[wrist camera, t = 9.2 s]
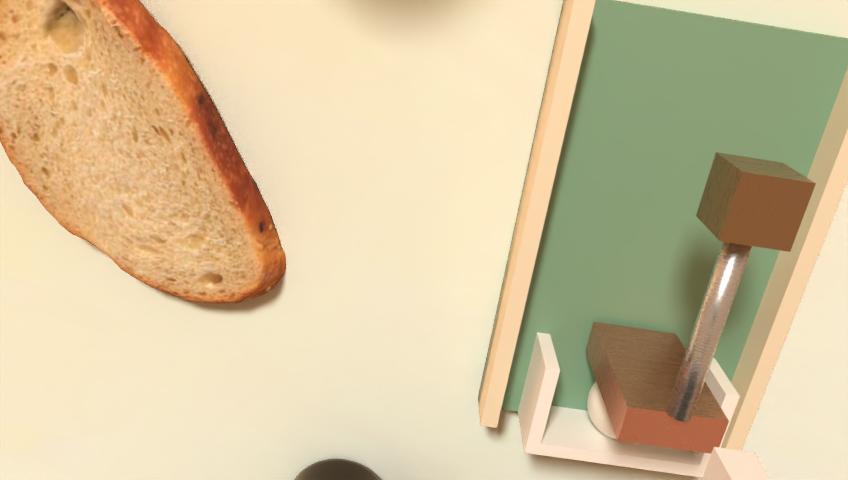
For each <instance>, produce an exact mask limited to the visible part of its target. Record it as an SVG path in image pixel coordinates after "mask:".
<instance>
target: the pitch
mask: <svg viewBox="0 0 848 480" xmlns="http://www.w3.org/2000/svg"><path fill="white" fill-rule="evenodd" d="M716 152H719V153H725V154H732V155H738V156H744V157H751V158H757V159H764V160H770V161H776V162H783V163H784V164H786V165H788V166H789V167H791V168H792V169H794V170H795V171H797V172H799V173H800V174H802V175H803V176H805V177H807V178H808V179H810V180H811V181H813V182H814V183H816V185H815V187H814V190H813V193H812V195H811V198H810V201H809V203H808V206H807V209H806V211H805V214H804V217H803V219H802V222H801V225H800V227H799V230H798V232H797V235H796V238H795V240H794V243H793V246H792V248H791V251H790V252H788V251H781V250H775V249H768V248H761V247H755V246H752V249H751V252H750V254H749V257H748V260H747V263H746V266H745V269H744V271H743V274H742V277H741V280H740V283H739V286H738V288H737V291H736V294H735V297H734V300H733V302H732V305H731V308H730V311H729V314H728V317H727V319H726V322H725V325H724V328H723V331H722V334H721V336H720V339H719V342H718V345H717V348H716V351H715V353H714V356H713V359H712V362H711V365H710V367H709V370H708V373H707V376H706V379H705V382H706V384H707V386H708V387H709V389H710V390H711V392H712V394H713V395H714V397H715V399H716V400H717V402H718V404H719V405H720V407H721V409H722V410H723V412H724V414H725V415H726V417H727V419H728V420H729V423H728V426H727V428H726V431H725V434H724V436H723V439H722V441H721V444H720V447H719V448H725V449H732V450H740V451H742V448H743V446H744V443H745V441H746V438H747V436H748V433H749V431H750V428H751V426H752V423H753V420H754V418H755V415H756V413H757V410H758V408H759V405H760V403H761V400H762V398H763V395H764V393H765V390H766V387H767V385H768V382H769V380H770V377H771V375H772V372H773V370H774V367H775V365H776V362H777V360H778V357H779V354H780V352H781V349H782V347H783V344H784V342H785V339H786V337H787V334H788V332H789V329H790V326H791V324H792V321H793V319H794V316H795V314H796V311H797V309H798V306H799V304H800V301H801V299H802V296H803V293H804V291H805V288H806V286H807V283H808V281H809V278H810V276H811V273H812V271H813V268H814V266H815V263H816V260H817V258H818V255H819V253H820V250H821V248H822V245H823V243H824V240H825V238H826V235H827V233H828V230H829V227H830V225H831V222H832V220H833V217H834V215H835V212H836V210H837V207H838V205H839V202H840V199H841V197H842V194H843V192H844V189H845V187H846V184H847V182H848V38H841V37H835V36H829V35H823V34H817V33H811V32H805V31H799V30H793V29H786V28H780V27H774V26H768V25H762V24H756V23H750V22H744V21H738V20H731V19H725V18H719V17H713V16H707V15H701V14H695V13H689V12H683V11H676V10H670V9H664V8H658V7H652V6H646V5H640V4H634V3H627V2H621V1H615V0H563V5H562V10H561V14H560V19H559V23H558V28H557V33H556V37H555V42H554V47H553V51H552V56H551V61H550V65H549V70H548V75H547V79H546V84H545V89H544V93H543V98H542V103H541V107H540V112H539V116H538V121H537V126H536V130H535V135H534V140H533V144H532V149H531V154H530V158H529V163H528V168H527V172H526V177H525V182H524V186H523V191H522V196H521V200H520V205H519V209H518V214H517V219H516V223H515V228H514V233H513V237H512V242H511V247H510V251H509V256H508V261H507V265H506V270H505V275H504V279H503V284H502V289H501V293H500V298H499V302H498V307H497V312H496V316H495V321H494V326H493V330H492V335H491V340H490V344H489V349H488V354H487V358H486V363H485V368H484V372H483V377H482V382H481V386H480V391H479V395H478V401H479V413H480V426H487V427H494V428H497V425H498V420H499V416H500V412H501V409H503V410H510V411H517V412H518V416H519V422H520V428H521V434H522V440H523V446H524V452H525V453H530V454H537V455H544V456H551V457H558V458H566V459H573V460H580V461H587V462H594V463H601V464H608V465H616V466H623V467H630V468H637V469H644V470H651V471H659V472H666V473H673V474H680V475H687V476H694V477H701V478H702V477H703V474H704V472H705V469H706V466H707V464H708V461H709V458H710V456H711V454H710V453H703V452H696V451H688V450H681V449H674V448H667V447H660V446H653V445H646V444H639V443H632V442H625V441H618V440H617V439H614V438H611V437H608V436H606V435H605V434H603V433H602V432H601V431H599V430H598V429H597V428H596V426H595V425H594V424H593V422H592V421H591V419H590V416H589V413H588V409H587V399H588V394H589V391H590V389H591V387H592V386H593V384H594V383H595V382H596V379H595V376H594V373H593V370H592V368H591V365H590V362H589V359H588V356H587V353H586V351H585V350H586V347H587V343H588V340H589V336H590V332H591V329H592V325H593V322H600V323H607V324H613V325H620V326H627V327H634V328H641V329H647V330H654V331H661V332H668V333H675V334H677V336H678V338H679V339H680V341H681V343H682V344H683V346H684V348H685V349H687V346H688V343H689V340H690V337H691V334H692V331H693V328H694V325H695V322H696V319H697V316H698V313H699V310H700V307H701V304H702V301H703V298H704V295H705V292H706V289H707V286H708V283H709V280H710V277H711V274H712V271H713V268H714V265H715V262H716V259H717V256H718V253H719V250H720V247H721V244H722V241H719V240H718V239H717V238H716V237H715V236H714V235H713V234H712V233H711V231H710V230H709V229H708V228H707V227H706V226H705V225H704V224H703V223H702V222H701V221H700V220H699V219H698V218H697V217H696V214H697V211H698V208H699V204H700V201H701V198H702V195H703V192H704V189H705V185H706V182H707V179H708V176H709V173H710V170H711V166H712V163H713V160H714V157H715V154H716Z"/></svg>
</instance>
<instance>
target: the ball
mask: <svg viewBox="0 0 848 480" xmlns="http://www.w3.org/2000/svg"><path fill="white" fill-rule="evenodd" d="M587 409H588V413H589V416H590V419H591V421H592V422H593V424H594V425H595V426H596V428H597V429H598V430H599V431H601V432H602V433H603V434H605V435H606V436H608V437H611V438H614V439H617V438H616V435H615V432H614V429H613V427H612V424H611V421H610V418H609V415H608V413H607V410H606V407H605V404H604V401H603V398H602V396H601V393H600V390H599V387H598V384H597V382H595V383H594V384H593V386H592V387H591V389H590V391H589V394H588V399H587Z"/></svg>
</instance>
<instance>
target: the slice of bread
mask: <svg viewBox="0 0 848 480" xmlns="http://www.w3.org/2000/svg"><path fill="white" fill-rule="evenodd" d="M0 142H1V144H2V146H3V147H4V149H5V152H6V153H7V156H8V158H9V159H10V161H11V162H12V164H13V165H14V166H15V167H16V168H17V170H18V172H19V174H20V175H21V177H22V179H23V182H24V184H25V185H26V186H27V187H28V188H29V189H30V190H31V191H32V192H33V193H34V194H35V195H36V196H37V198H38V199H39V201H40V202H41V204H42V205H43V206H44V207H45V209H46V210H47V211H48V212H49V213H50V214H51V215H52V216H53V217H54V218H55V219H56V220H57V221H58V223H60V224H61V225H62V226H63V227H64V228H65V229H66V230H68V231H69V232H70V233H72V234H73V235H76V236H78V237H80V238H82V239H84V240H87V241H89V242H90V243H92V244H94V245H95V246H97V247H98V248H99V249H100V250H101V251H102V252H104V253H105V254H107V255H108V256H109V257H110V258H111V259H112V260H113V261H114V262H115V263H116V264H117V265H118V266H119V267H120V268H121V269H122V270H123V271H125V272H127V273H128V274H130V275H131V276H133V277H135V278H136V279H139V280H140V281H142V282H144V283H146V284H147V285H149V286H151V287H154V288H156V289H159V290H162V291H165V292H168V293H170V294H172V295H175V296H178V297H180V298H183V299H186V300H188V301H193V302H203V303H237V302H241V301H245V300H248V299H251V298H254V297H257V296H260V295H262V294H265V293H267V292H268V291H270V290H271V289H272V288H274V287H275V285H276V284H277V283H278V281H279V280H280V279H281V277H282V276H283V274H284V272H285V269H286V260H285V253H284V251H283V249H282V247H281V245H280V243H279V238H278V235H277V232H276V229H275V227H274V225H273V222H272V219H271V216H270V213H269V209H268V207H267V205H266V204H265V202H264V201H263V199H262V197H261V195H260V193H259V190H258V188H257V186H256V183H255V181H254V179H253V178H252V176H251V175H250V174H249V172H248V171H247V169H246V167H245V165H244V163H243V161H242V159H241V157H240V155H239V153H238V151H237V150H236V148H235V146H234V144H233V143H232V140H231V138H230V136H229V134H228V132H227V130H226V128H225V126H224V124H223V122H222V121H221V119H220V117H219V115H218V113H217V111H216V109H215V107H214V105H213V103H212V102H211V100H210V98H209V96H208V94H207V93H206V91H205V89H204V87H203V86H202V84H201V82H200V81H199V79H198V78H197V76H196V74H195V73H194V71H193V70H192V68H191V67H190V65H189V64H188V62H187V60H186V58H185V56H184V55H183V53H182V51H181V49H180V48H179V46H178V45H177V44H176V42H175V41H174V39H173V38H172V37H171V35H170V34H169V33H168V32H167V31H166V30H165V29H164V28H163V27H161V26H160V25H159V24H158V23H157V22H156V21H155V20H154V19H153V17H152V16H151V15H150V14H149V12H148V11H147V10H146V8H145V7H144V6H143V4H142V3H141V2H140V1H139V0H0Z"/></svg>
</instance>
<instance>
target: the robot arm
mask: <svg viewBox="0 0 848 480" xmlns="http://www.w3.org/2000/svg"><path fill="white" fill-rule="evenodd" d="M702 480H772V479H771V477H770V476H769V474H768V473H767V471H766V469H765V468H764V466H763V465H762V463H761V461H760V460H759V458H758V456H757V455H756V453H754V452H747V451H740V450H732V449H725V448H718V447H714V448H713V450H712V453H711V456H710V458H709V461H708V464H707V466H706V469H705V472H704V474H703V477H702Z"/></svg>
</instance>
